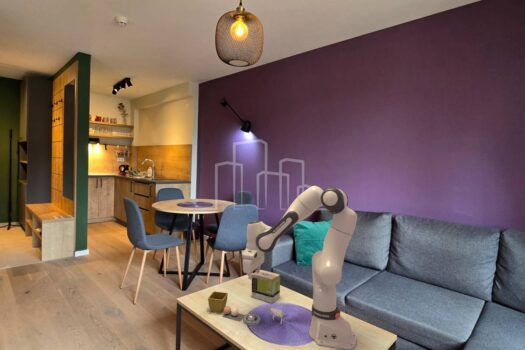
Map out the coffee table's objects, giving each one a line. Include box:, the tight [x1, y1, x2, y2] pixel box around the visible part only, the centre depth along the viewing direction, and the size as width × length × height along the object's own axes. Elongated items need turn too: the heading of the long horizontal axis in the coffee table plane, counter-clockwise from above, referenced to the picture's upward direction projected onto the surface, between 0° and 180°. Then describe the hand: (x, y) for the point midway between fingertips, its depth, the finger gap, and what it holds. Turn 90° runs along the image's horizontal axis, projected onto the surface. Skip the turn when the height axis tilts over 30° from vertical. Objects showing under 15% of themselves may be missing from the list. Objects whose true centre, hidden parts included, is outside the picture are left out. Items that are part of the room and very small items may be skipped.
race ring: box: [242, 313, 262, 327], centre depth 155 cm, size 8×8×2 cm
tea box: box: [251, 269, 281, 304], centre depth 183 cm, size 15×10×15 cm
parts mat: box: [221, 312, 246, 323], centre depth 159 cm, size 11×7×1 cm, turn 66°
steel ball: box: [247, 315, 256, 322], centre depth 154 cm, size 4×4×4 cm
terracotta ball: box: [223, 306, 232, 314], centre depth 161 cm, size 4×4×4 cm
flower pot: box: [207, 290, 229, 314], centre depth 165 cm, size 9×9×9 cm
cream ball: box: [231, 307, 239, 316], centre depth 160 cm, size 4×4×4 cm
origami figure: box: [268, 307, 286, 324], centre depth 158 cm, size 12×8×5 cm
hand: (254, 275), depth 162 cm, fingers open, 8 cm apart
